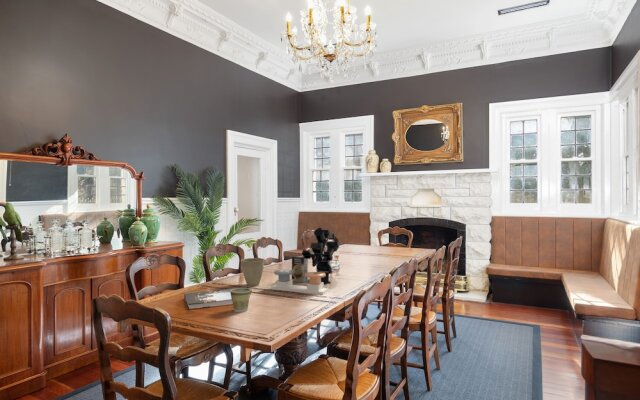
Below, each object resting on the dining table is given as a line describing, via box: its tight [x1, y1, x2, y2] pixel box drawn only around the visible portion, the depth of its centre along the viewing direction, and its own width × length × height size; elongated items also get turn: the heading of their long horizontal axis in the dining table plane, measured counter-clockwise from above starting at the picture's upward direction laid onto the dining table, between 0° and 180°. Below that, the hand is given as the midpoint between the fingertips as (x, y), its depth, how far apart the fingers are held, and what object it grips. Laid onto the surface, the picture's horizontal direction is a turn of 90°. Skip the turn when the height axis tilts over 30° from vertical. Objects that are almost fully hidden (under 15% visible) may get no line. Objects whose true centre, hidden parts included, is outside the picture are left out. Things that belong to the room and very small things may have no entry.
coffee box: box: [291, 255, 309, 283], centre depth 268 cm, size 9×6×16 cm
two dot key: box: [273, 268, 294, 282], centre depth 246 cm, size 12×12×6 cm
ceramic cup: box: [229, 287, 253, 313], centre depth 202 cm, size 13×10×10 cm
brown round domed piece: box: [305, 271, 326, 285], centre depth 238 cm, size 12×12×6 cm
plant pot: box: [240, 257, 266, 287], centre depth 257 cm, size 15×15×16 cm
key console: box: [270, 279, 330, 295], centre depth 242 cm, size 34×9×5 cm, turn 67°
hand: (313, 266), depth 245 cm, fingers closed
